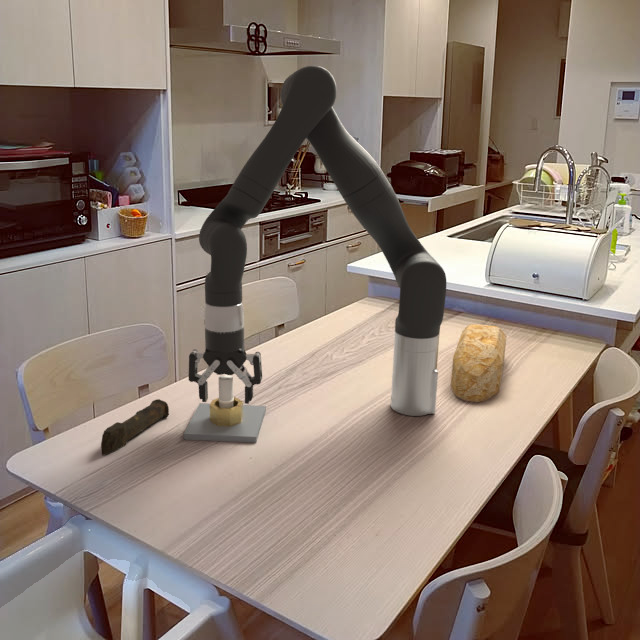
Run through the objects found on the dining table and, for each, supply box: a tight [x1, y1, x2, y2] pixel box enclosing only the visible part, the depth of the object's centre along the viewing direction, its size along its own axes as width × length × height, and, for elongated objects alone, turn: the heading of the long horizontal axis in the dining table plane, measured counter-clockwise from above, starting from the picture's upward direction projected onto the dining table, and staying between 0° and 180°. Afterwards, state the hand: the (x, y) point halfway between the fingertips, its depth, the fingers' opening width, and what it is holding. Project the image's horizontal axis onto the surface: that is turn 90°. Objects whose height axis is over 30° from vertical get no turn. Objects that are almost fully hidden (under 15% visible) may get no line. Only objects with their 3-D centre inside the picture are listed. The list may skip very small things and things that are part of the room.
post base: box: [183, 374, 267, 443], centre depth 141 cm, size 14×14×10 cm
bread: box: [450, 323, 507, 403], centre depth 171 cm, size 36×11×10 cm, turn 163°
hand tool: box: [100, 398, 170, 456], centre depth 137 cm, size 19×4×5 cm, turn 155°
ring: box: [209, 396, 244, 426], centre depth 142 cm, size 6×6×4 cm
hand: (226, 401), depth 141 cm, fingers open, 8 cm apart
